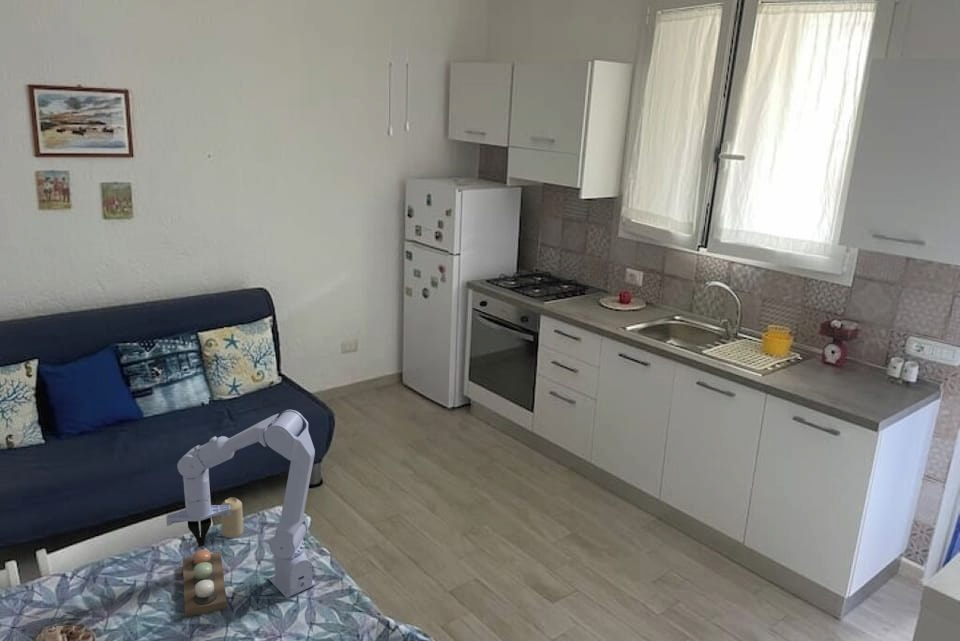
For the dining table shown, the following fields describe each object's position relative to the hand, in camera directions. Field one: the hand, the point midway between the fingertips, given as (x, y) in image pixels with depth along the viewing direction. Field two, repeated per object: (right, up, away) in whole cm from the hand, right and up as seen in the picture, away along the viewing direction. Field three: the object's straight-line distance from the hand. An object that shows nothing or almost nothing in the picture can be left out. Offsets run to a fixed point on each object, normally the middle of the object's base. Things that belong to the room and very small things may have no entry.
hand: (201, 544), depth 177 cm
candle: (+2, -3, +18) cm, 18 cm away
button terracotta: (0, -5, +2) cm, 5 cm away
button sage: (+2, -6, -5) cm, 8 cm away
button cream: (+5, -8, -11) cm, 14 cm away
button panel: (+2, -9, -4) cm, 10 cm away
